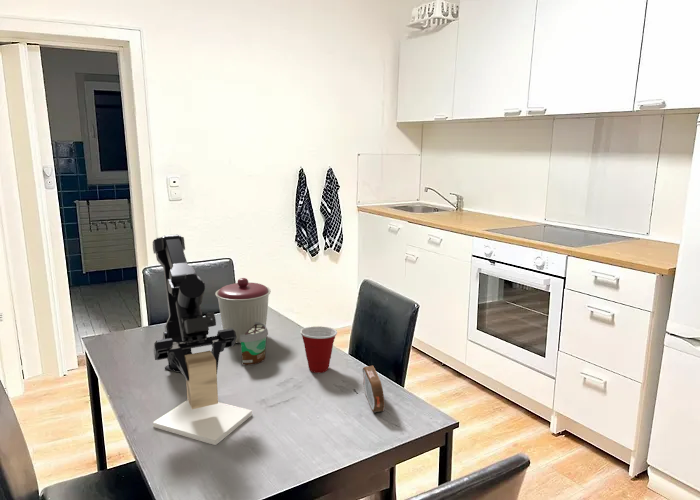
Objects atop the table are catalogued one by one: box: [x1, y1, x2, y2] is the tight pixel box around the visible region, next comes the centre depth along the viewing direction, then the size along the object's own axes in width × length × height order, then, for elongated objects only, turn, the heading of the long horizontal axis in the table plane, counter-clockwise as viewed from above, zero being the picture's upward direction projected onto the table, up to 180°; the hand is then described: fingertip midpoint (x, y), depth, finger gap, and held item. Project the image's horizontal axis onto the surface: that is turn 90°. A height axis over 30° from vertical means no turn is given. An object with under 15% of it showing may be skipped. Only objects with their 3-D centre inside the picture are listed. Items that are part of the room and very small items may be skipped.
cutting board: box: [152, 399, 253, 446], centre depth 122 cm, size 18×14×1 cm
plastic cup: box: [299, 325, 338, 374], centre depth 149 cm, size 11×11×12 cm
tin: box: [362, 365, 385, 413], centre depth 130 cm, size 15×3×8 cm, turn 9°
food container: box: [240, 322, 269, 366], centre depth 155 cm, size 12×6×10 cm, turn 168°
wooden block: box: [184, 350, 219, 409], centre depth 120 cm, size 6×6×11 cm
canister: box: [214, 277, 271, 344], centre depth 171 cm, size 18×18×21 cm
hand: (202, 377), depth 118 cm, fingers closed on wooden block, 6 cm apart
